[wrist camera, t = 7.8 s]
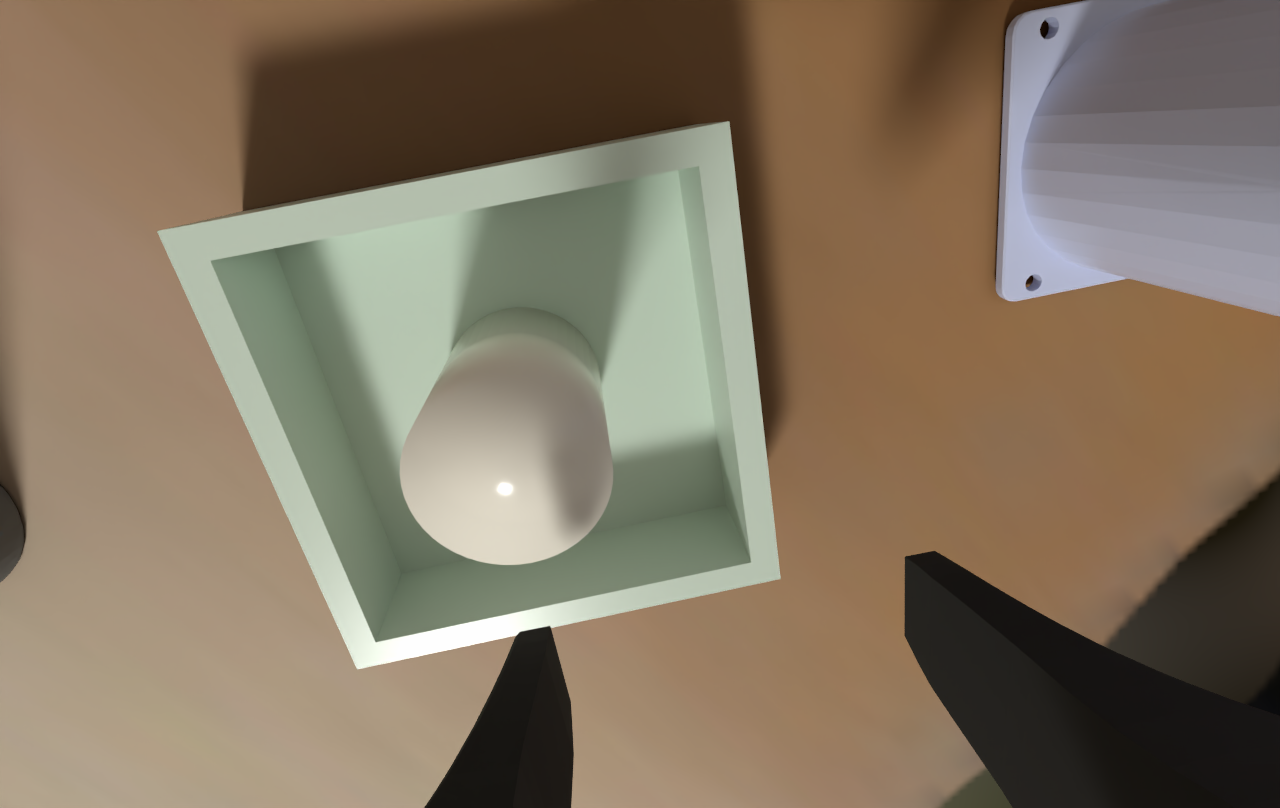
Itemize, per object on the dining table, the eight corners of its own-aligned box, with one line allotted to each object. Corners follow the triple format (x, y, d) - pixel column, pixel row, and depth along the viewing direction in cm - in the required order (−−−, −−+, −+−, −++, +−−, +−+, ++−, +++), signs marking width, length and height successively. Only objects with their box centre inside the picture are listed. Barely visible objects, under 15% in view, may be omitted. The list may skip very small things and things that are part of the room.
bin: (696, 124, 18) (729, 121, 14) (746, 508, 23) (780, 578, 19) (241, 211, 18) (157, 231, 14) (391, 582, 23) (357, 669, 19)
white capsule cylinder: (584, 294, 19) (592, 360, 13) (611, 434, 21) (628, 544, 15) (428, 322, 19) (371, 401, 13) (469, 461, 20) (433, 581, 15)
